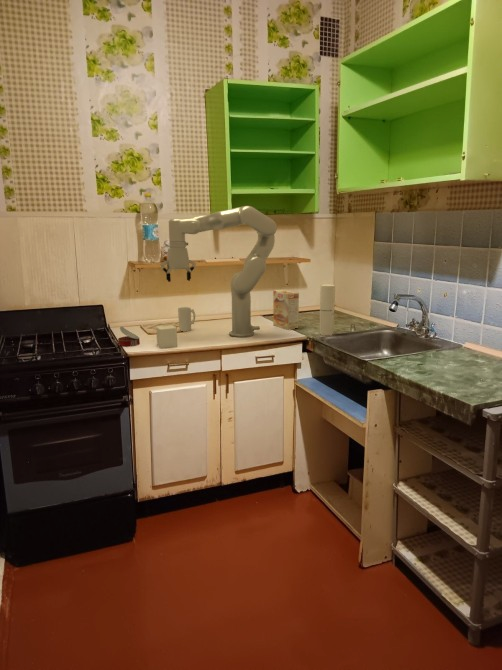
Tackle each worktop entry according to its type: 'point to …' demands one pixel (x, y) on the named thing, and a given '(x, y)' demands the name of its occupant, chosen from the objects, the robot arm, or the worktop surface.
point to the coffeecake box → (285, 309)
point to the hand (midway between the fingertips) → (178, 281)
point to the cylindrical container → (327, 309)
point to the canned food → (128, 338)
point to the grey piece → (166, 336)
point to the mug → (185, 318)
